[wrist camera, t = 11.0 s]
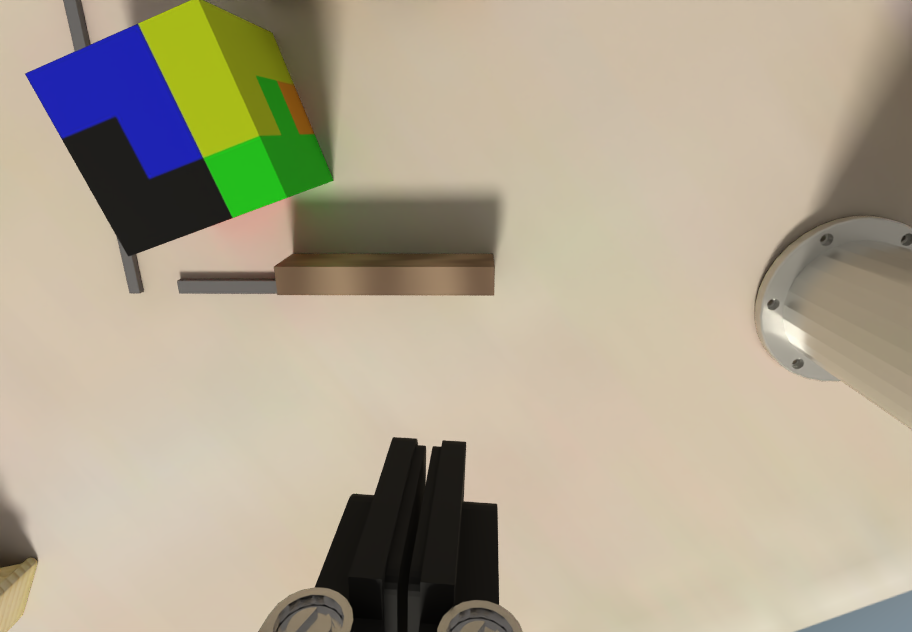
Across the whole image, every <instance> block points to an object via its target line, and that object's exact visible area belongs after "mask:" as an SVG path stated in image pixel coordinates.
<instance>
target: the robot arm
mask: <svg viewBox="0 0 912 632" xmlns="http://www.w3.org/2000/svg"><path fill="white" fill-rule="evenodd" d="M821 237H822V238H821ZM768 301H769V302H768ZM755 324H756V329H757V334H758V336H759V338H760V341H761V343H762V345H763V347H764V348H765V350H766V351H767V352H768V354H769V355H770V356H771V357H772V358H773V359H774V360H775V361H777V362H778V363H779V364H780V365H781V366H783V367H784V368H786V369H787V370H788V371H790V372H792V373H794V374H796V375H799V376H801V377H804V378H806V379H811V380H817V381H831V382H838V381H842V382H843V383H845V384H846V385H848V386H849V387H851V388H852V389H853V390H855V391H856V392H858V393H859V394H861V395H862V396H864V397H865V398H866V399H868V400H869V401H871V402H872V403H874V404H875V405H877V406H878V407H879V408H881V409H882V410H884V411H885V412H887V413H888V414H890V415H891V416H893V417H894V418H895V419H897V420H898V421H900V422H901V423H903V424H904V425H906V426H907V427H908V428H910V429H911V430H912V228H911V227H910V226H908V225H906V224H904V223H901V222H897V221H894V220H891V219H887V218H881V217H876V216H852V217H846V218H841V219H836V220H834V221H831V222H828V223H825V224H822V225H820V226H818V227H816V228H814V229H812V230H811V231H809V232H807V233H805V234H803V235H802V236H801V237H799V238H798V239H797V240H795V241H794V242H793V243H792V244H790V245H789V246H788V247H787V248H786V249H785V250H784V251H783V252H782V253H781V254H780V255H779V256H778V257H777V259H776V260H775V261H774V263H773V264H772V266H771V267H770V269H769V270H768V272H767V273H766V275H765V277H764V279H763V281H762V284H761V286H760V288H759V291H758V295H757V299H756V304H755ZM465 458H466V442H459V441H442V447H436V446H433V448H432V453H431V459H430V464H429V470H428V475H427V480H426V446H421V445H418V442H417V439H412V438H397V437H394V438H393V439H392V441H391V445H390V448H389V451H388V454H387V457H386V460H385V463H384V466H383V470H382V473H381V476H380V479H379V482H378V485H377V488H376V491H375V494H374V495H363V494H352V495H351V496H350V498H349V500H348V503H347V505H346V508H345V511H344V513H343V516H342V518H341V521H340V523H339V526H338V529H337V531H336V534H335V536H334V539H333V542H332V544H331V547H330V549H329V552H328V555H327V557H326V560H325V562H324V565H323V567H322V570H321V573H320V575H319V578H318V580H317V583H316V586H315V588H310V589H304V590H301V591H298V592H296V593H294V594H291V595H289V596H288V597H287V598H285V599H284V600H282V601H281V602H280V603H278V604H277V606H276V607H275V608H274V609H273V610H272V612H271V613H270V614H269V615H268V617H267V619H266V620H265V622H264V623H263V625H262V626H261V628H260V630H259V631H258V632H523V631H522V629H521V626H520V624H519V622H518V621H517V620H516V619H515V617H514V616H513V615H512V614H511V613H510V612H509V611H507V610H506V609H505V608H503V607H502V606H500V605H499V574H498V515H497V504H491V503H477V502H463V501H464V480H465ZM425 484H426V486H425Z"/></svg>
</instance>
